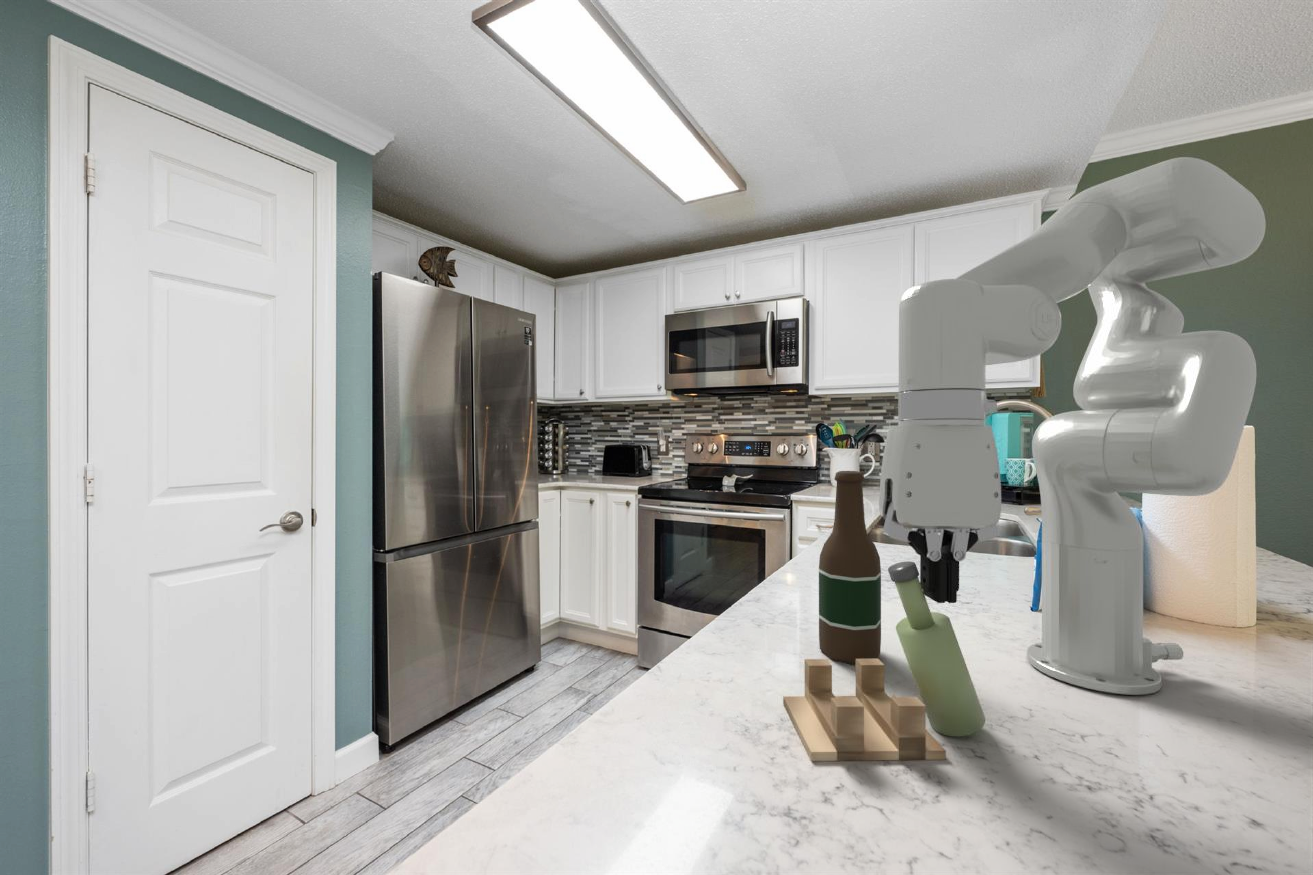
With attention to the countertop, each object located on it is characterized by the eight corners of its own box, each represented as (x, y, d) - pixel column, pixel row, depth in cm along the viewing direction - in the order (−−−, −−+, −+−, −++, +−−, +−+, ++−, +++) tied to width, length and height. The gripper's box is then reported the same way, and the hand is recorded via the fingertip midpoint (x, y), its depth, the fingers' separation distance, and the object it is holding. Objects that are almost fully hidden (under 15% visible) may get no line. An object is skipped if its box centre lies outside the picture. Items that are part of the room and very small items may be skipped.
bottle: (965, 698, 55) (912, 552, 55) (997, 724, 50) (939, 564, 50) (920, 714, 55) (867, 569, 55) (947, 742, 50) (889, 582, 50)
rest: (894, 702, 58) (894, 658, 57) (945, 759, 48) (945, 705, 47) (783, 703, 57) (783, 659, 57) (811, 760, 47) (811, 706, 47)
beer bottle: (887, 668, 66) (887, 474, 66) (821, 663, 67) (821, 473, 67) (875, 644, 74) (874, 469, 73) (816, 639, 75) (815, 469, 75)
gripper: (991, 413, 56) (990, 588, 56) (849, 412, 56) (848, 588, 56) (1044, 410, 49) (1043, 611, 49) (881, 409, 48) (880, 611, 48)
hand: (939, 598), depth 52 cm, fingers closed
